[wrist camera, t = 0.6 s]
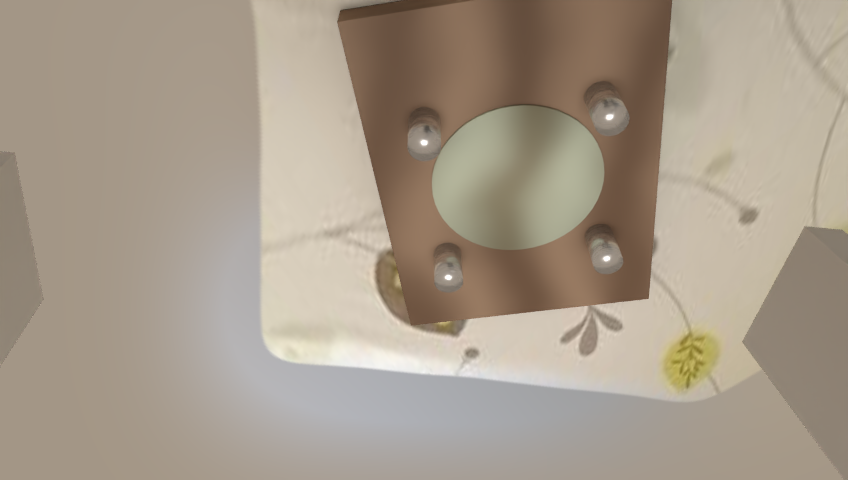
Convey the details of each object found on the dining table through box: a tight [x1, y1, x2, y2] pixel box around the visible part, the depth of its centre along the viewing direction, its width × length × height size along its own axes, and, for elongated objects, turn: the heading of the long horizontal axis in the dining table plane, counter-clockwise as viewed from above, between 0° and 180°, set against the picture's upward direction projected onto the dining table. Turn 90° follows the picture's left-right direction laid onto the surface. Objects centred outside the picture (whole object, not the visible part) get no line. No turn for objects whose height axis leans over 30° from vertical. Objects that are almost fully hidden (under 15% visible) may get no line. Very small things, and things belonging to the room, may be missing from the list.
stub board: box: [337, 0, 672, 325], centre depth 35 cm, size 15×20×4 cm
